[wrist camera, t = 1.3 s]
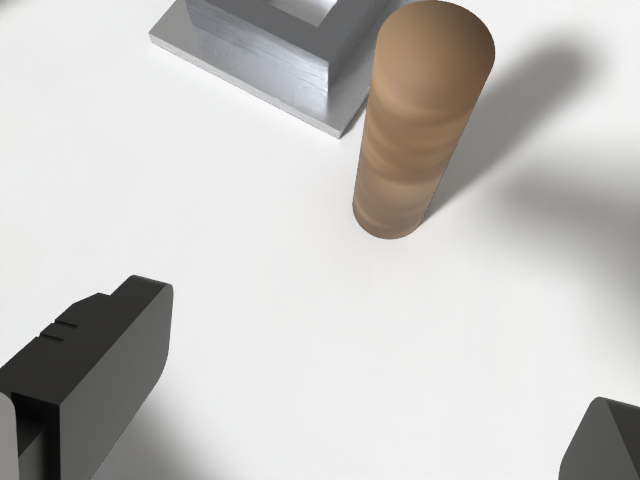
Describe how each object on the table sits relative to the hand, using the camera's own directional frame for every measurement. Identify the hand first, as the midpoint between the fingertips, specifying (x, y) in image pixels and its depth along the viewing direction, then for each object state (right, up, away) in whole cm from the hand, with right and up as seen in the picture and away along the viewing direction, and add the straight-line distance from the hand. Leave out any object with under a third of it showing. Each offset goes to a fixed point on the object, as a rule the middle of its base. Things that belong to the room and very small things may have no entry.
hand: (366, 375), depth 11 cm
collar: (-2, +16, +22) cm, 27 cm away
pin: (+3, +4, +18) cm, 19 cm away
